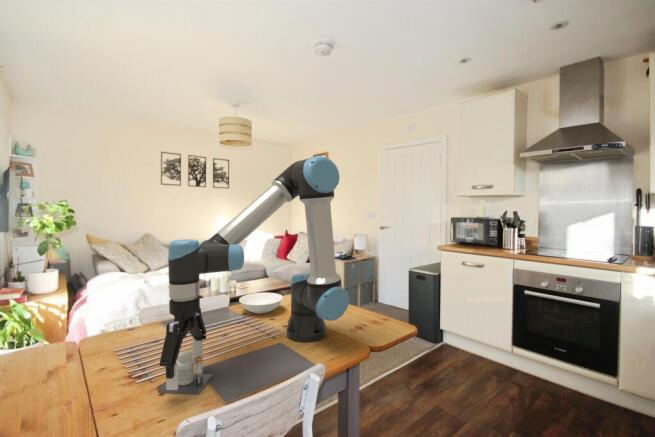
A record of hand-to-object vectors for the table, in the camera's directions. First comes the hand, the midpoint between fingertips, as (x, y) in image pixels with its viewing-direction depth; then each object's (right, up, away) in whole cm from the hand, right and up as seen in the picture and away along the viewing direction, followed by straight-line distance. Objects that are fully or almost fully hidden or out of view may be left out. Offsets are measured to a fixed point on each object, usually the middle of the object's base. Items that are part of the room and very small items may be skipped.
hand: (186, 374), depth 88 cm
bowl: (+8, -1, +61) cm, 61 cm away
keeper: (0, -3, 0) cm, 3 cm away
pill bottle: (0, -2, 0) cm, 2 cm away
